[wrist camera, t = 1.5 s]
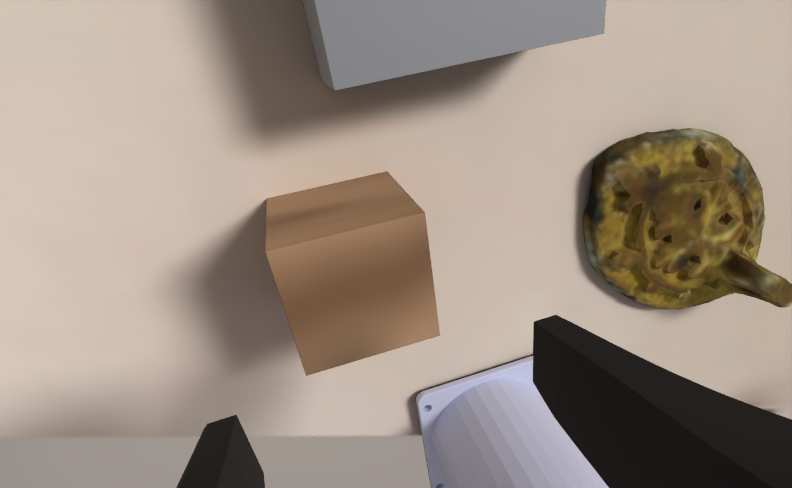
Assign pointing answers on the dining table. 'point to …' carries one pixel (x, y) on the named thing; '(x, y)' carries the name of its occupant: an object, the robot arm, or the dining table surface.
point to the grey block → (436, 33)
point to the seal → (679, 221)
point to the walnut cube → (351, 269)
